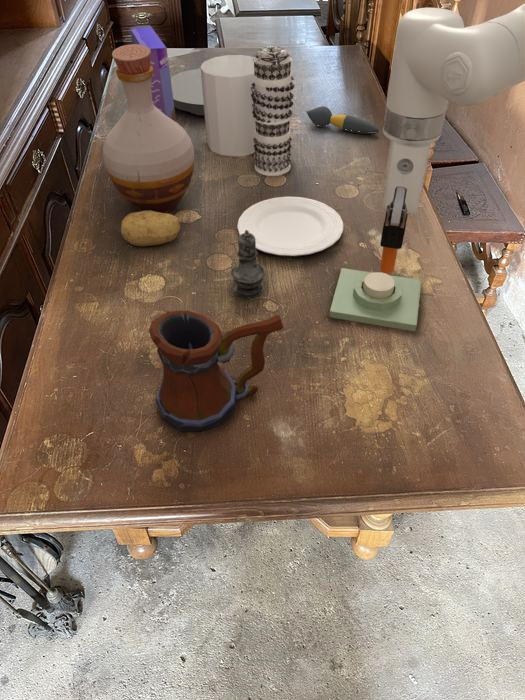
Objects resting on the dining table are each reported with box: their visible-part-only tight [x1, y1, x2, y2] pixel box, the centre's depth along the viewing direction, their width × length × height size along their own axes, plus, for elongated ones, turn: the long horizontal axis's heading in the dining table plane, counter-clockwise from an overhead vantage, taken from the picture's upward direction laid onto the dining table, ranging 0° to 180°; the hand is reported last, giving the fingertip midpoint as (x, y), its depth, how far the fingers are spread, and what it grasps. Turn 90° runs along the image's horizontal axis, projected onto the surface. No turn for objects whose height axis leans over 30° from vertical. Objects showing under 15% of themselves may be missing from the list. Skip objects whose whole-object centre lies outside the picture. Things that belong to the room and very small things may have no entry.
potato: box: [120, 210, 181, 247], centre depth 103 cm, size 7×11×6 cm, turn 94°
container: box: [199, 54, 256, 157], centre depth 129 cm, size 14×14×18 cm
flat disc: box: [170, 67, 205, 116], centre depth 152 cm, size 28×28×4 cm
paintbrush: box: [305, 105, 380, 135], centre depth 138 cm, size 20×5×5 cm, turn 71°
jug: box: [102, 43, 195, 214], centre depth 105 cm, size 20×18×30 cm
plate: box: [236, 196, 344, 258], centre depth 107 cm, size 21×21×2 cm
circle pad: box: [363, 271, 395, 299], centre depth 90 cm, size 5×5×2 cm
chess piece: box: [230, 230, 266, 299], centre depth 91 cm, size 6×6×12 cm
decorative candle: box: [251, 45, 295, 177], centre depth 117 cm, size 9×9×25 cm
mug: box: [148, 310, 284, 432], centre depth 72 cm, size 18×12×15 cm, turn 99°
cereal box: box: [129, 24, 177, 123], centre depth 127 cm, size 17×5×24 cm, turn 20°
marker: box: [379, 212, 403, 275], centre depth 83 cm, size 2×2×11 cm
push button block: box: [328, 267, 422, 333], centre depth 91 cm, size 14×12×3 cm
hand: (391, 240), depth 83 cm, fingers closed on marker, 2 cm apart
